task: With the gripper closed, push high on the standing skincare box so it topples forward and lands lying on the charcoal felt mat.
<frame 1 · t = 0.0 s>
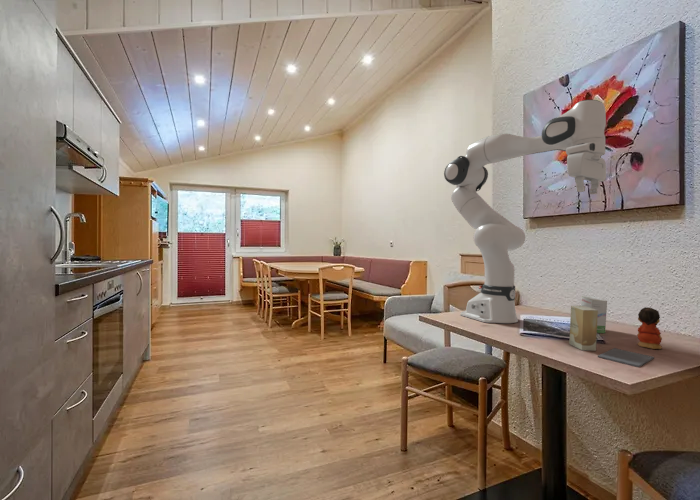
hand: (587, 193, 110), 48 cm above the table, fingers open, 8 cm apart
ink box: (592, 330, 122), on the table
skincare box: (582, 348, 101), on the table
figurine: (649, 347, 102), on the table
felt mat: (625, 357, 93), on the table
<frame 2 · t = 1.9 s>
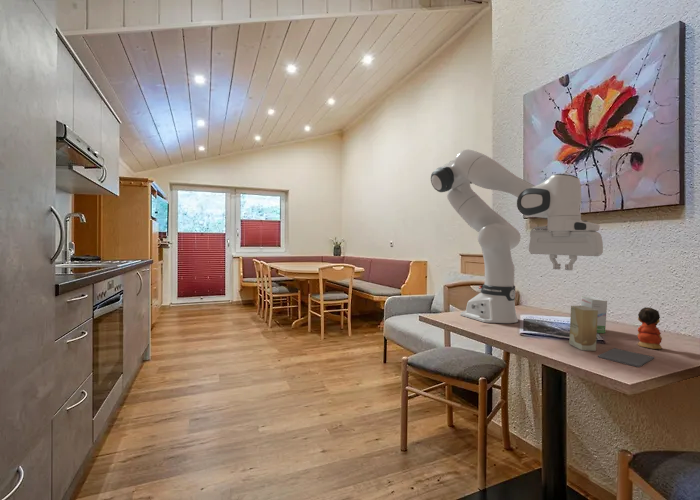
hand: (562, 269, 106), 23 cm above the table, fingers closed
nothing on the table moved.
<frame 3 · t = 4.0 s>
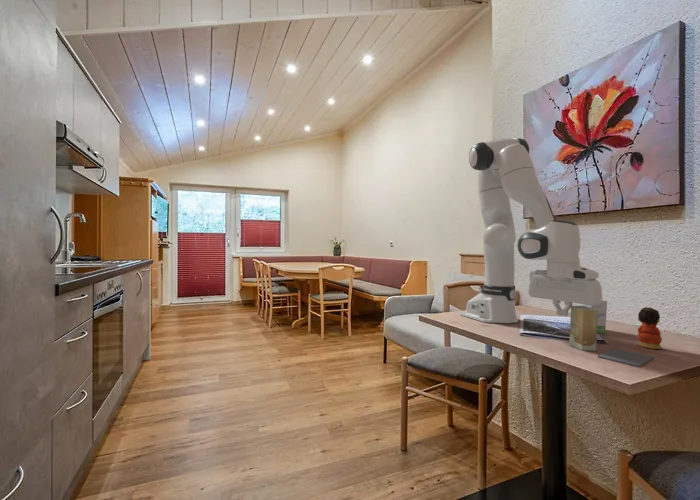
hand: (562, 315, 106), 9 cm above the table, fingers closed
skincare box: (582, 348, 101), on the table, touching gripper
everything else where it was.
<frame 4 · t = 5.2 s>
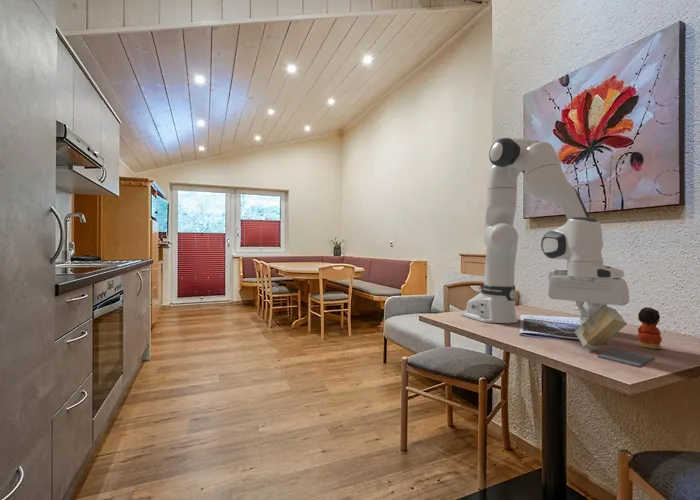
hand: (586, 317, 100), 9 cm above the table, fingers closed, pressing on skincare box
skincare box: (584, 342, 101), point 2 cm above the table, touching gripper
everything else where it was.
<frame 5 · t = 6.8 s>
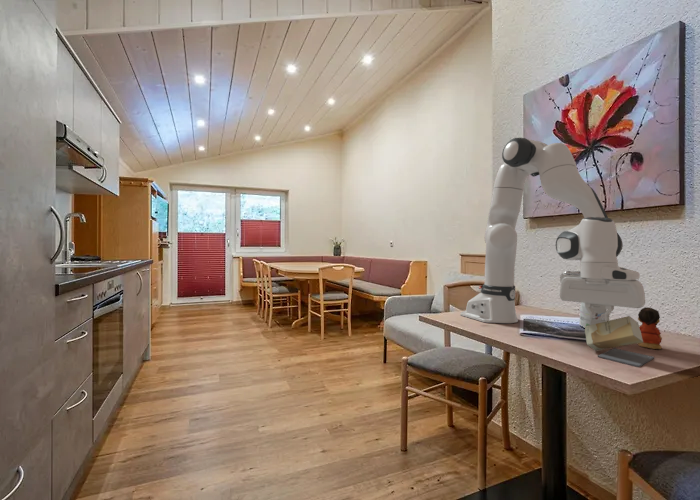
hand: (599, 319, 97), 9 cm above the table, fingers closed
skincare box: (589, 339, 100), point 3 cm above the table, touching gripper
everything else where it was.
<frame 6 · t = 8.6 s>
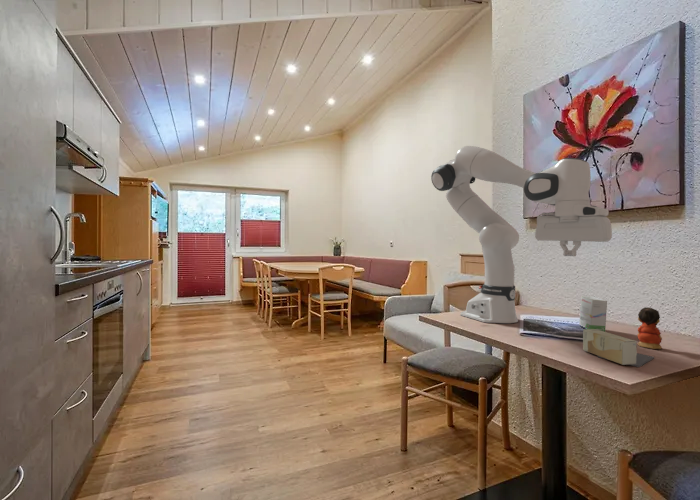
hand: (569, 256, 104), 27 cm above the table, fingers closed
skincare box: (588, 339, 98), point 3 cm above the table, touching felt mat
everything else where it was.
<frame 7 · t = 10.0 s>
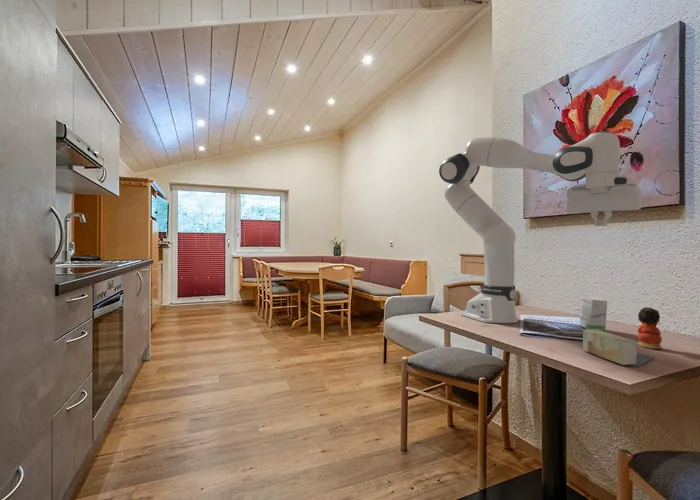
hand: (600, 226, 109), 37 cm above the table, fingers closed
nothing on the table moved.
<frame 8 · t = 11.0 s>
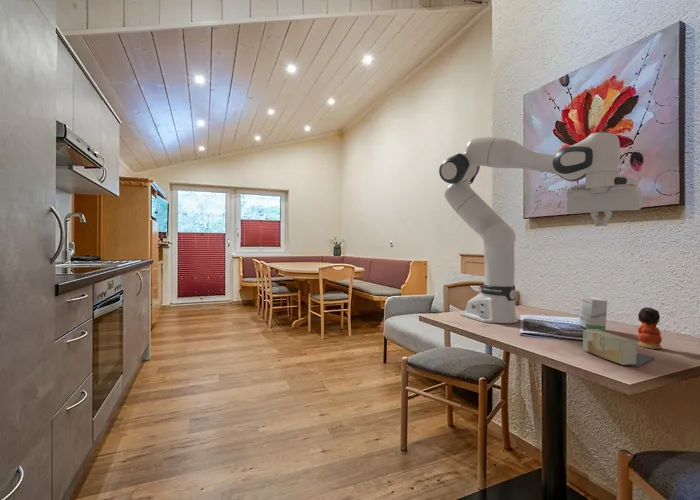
hand: (600, 226, 109), 37 cm above the table, fingers closed
nothing on the table moved.
at the end: skincare box tilted 89°; skincare box inside the target area (5.6 cm from its centre), point 3.3 cm above the table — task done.
